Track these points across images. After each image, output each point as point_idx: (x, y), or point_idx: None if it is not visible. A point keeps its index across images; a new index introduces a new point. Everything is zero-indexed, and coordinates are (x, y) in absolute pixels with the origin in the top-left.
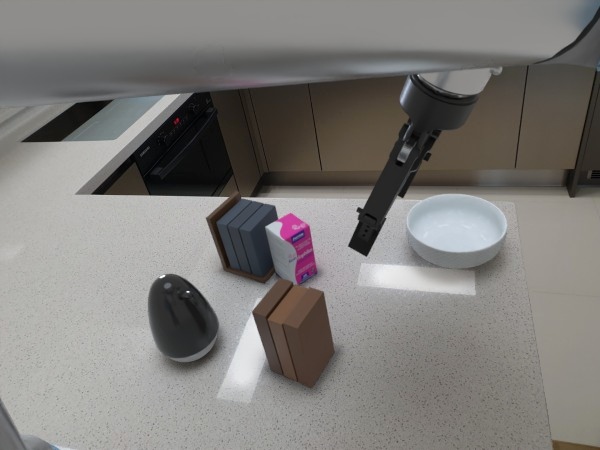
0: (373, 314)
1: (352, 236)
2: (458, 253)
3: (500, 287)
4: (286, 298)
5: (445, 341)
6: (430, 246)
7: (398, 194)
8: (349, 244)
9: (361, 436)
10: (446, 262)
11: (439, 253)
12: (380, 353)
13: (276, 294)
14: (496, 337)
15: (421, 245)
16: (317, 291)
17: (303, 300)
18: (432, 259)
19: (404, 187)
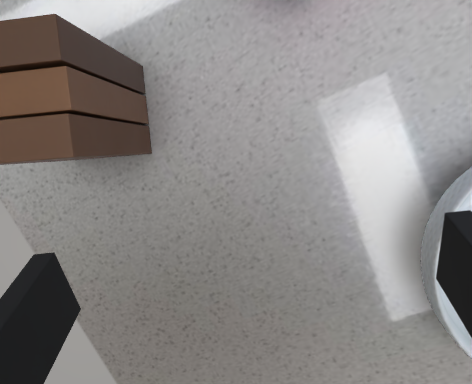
0: (259, 172)
1: (3, 296)
2: (440, 317)
3: (432, 356)
4: (17, 78)
5: (262, 309)
6: (438, 251)
7: (442, 264)
8: (27, 266)
9: None
10: (423, 279)
11: (429, 272)
12: (187, 224)
13: (3, 49)
14: (309, 377)
15: (440, 224)
16: (64, 142)
17: (23, 128)
18: (422, 246)
19: (464, 307)
